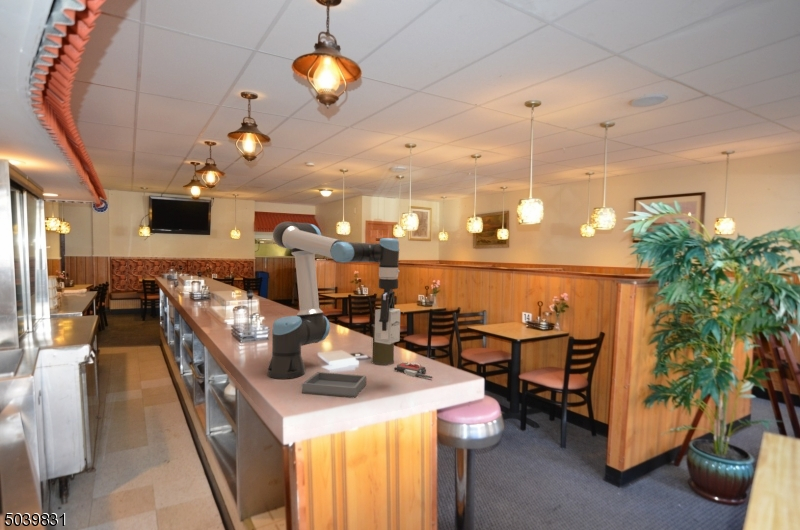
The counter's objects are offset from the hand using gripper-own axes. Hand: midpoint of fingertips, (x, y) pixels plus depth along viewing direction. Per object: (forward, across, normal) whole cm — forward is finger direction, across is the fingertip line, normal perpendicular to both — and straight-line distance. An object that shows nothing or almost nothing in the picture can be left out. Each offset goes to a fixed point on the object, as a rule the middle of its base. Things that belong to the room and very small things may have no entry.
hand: (387, 336), depth 158 cm
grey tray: (+19, -8, +18) cm, 27 cm away
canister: (+20, +33, +9) cm, 39 cm away
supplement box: (+2, 0, 0) cm, 2 cm away
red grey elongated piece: (+20, +19, -9) cm, 29 cm away
